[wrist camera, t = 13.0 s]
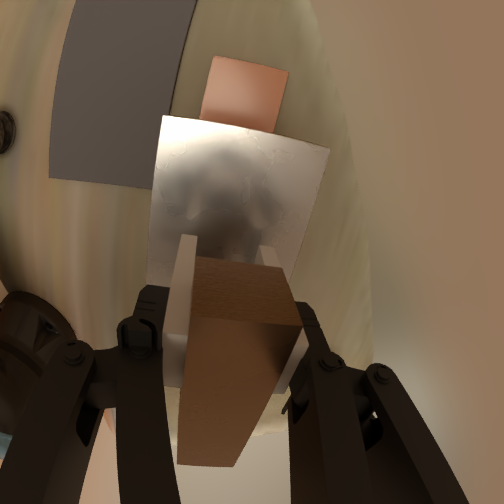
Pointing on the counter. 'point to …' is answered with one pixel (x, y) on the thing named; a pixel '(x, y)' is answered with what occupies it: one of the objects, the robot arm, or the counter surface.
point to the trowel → (231, 269)
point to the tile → (243, 94)
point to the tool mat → (116, 89)
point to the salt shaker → (6, 131)
